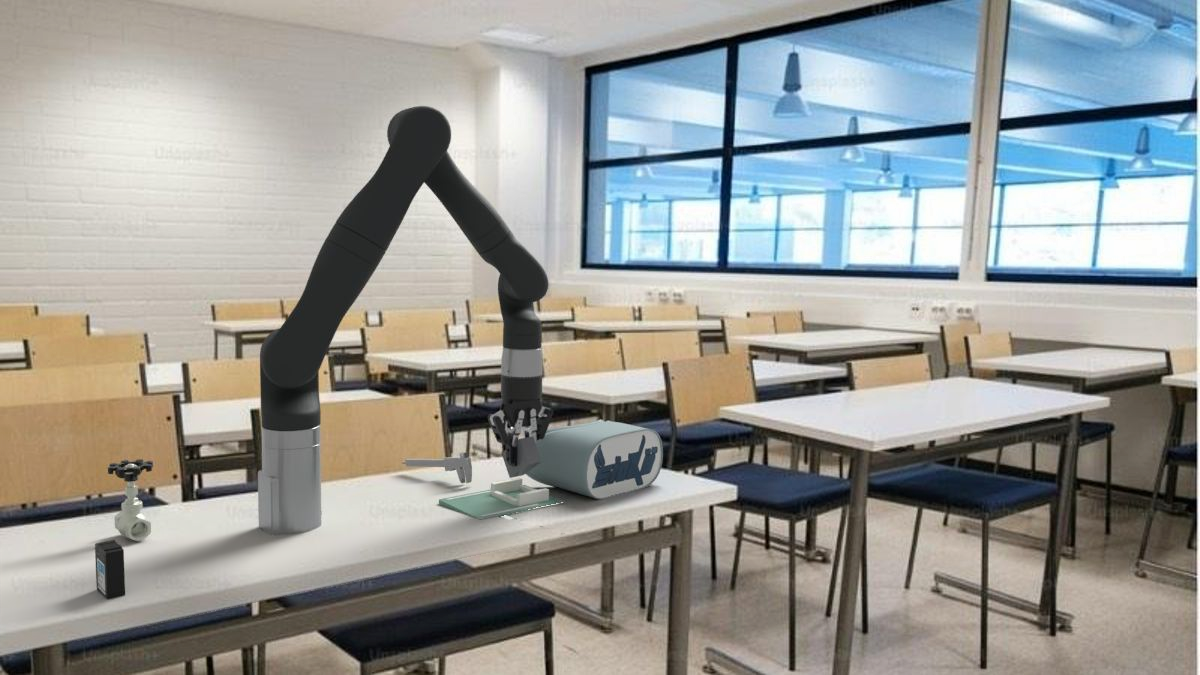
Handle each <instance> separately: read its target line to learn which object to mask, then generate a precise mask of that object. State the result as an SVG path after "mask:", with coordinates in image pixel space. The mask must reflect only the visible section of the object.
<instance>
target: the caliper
mask: <svg viewBox="0 0 1200 675" xmlns="http://www.w3.org/2000/svg"><path fill="white" fill-rule="evenodd" d="M401 464H402V465H405V466H406V467H407V468H408V467H411V468H412V467H413V468H415V467H416V468H417V467H419V468H420V467H423V468H426V467H428V468H430V467H431V468H444V471H445V472H452V471H453V472H454V471H456V473H457V474H456V475H457V476H458V480H459V482H460V484H465V483H466V484H469V483H471V482H472V481H473V479H472V478H473V466H472V459H471V457H469V452H468V451H466V452H464V451H462V452H459V456H456V457H455V456H448V457H447V456H446V457H444V458H443V459H441V458H439V459H438V458H437V459H436V458H407V459H405V460H404V461H402V462H401Z"/></svg>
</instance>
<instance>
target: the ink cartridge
mask: <svg viewBox="0 0 1200 675" xmlns="http://www.w3.org/2000/svg"><path fill="white" fill-rule="evenodd" d="M94 546H95V547H94V554H95V555H94V556H95V573H96V574H95V578H96V581H95V582H96V591H97V592H98V593H100V594H101V595H102V596H103V598H105V599H106V600H110V599H114V598H119V597H124V596H126V582H125V579H126V577H125V553H124V551H125V550H124V548H123V547H122V545H121V544H119V543H118V542H117V541H116V540H115V539H112V540H111V539H110V540H107V541H101V542H96V543H95V544H94Z"/></svg>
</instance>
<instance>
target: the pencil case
mask: <svg viewBox="0 0 1200 675" xmlns="http://www.w3.org/2000/svg"><path fill="white" fill-rule="evenodd" d="M536 446H537V449H538V452H539V455H540V458H541V461H542V462H541V463H539V464H538V465H537V466H535V467H534V468H532V469H531V470H530V471H528V472H527V473H526V474H525V475H526V476H527V477H528V478H530V479H532V480H534V482H538V483H539V484H543V485H546V486H548V487H549V486H550V487H553V488H557V487H559V488H558V489H561V490H566V491H569V492H573V493H576V494H579V495H583V496H586V497H589V498H592V499H597V500H604V499H605V498H604V497H606V498H609V497H612V496H611V495H613V496H616V495H615V494H617V495H619V494H618V493H621V494H623V493H622V492H625V493H627V492H626V491H628V492H630V491H629V490H632V491H635V490H634V489H636V490H639V489H638V488H643V489H645V487H646V488H648V487H649V486H651V485H652V484H653V483H654V482H655V481H656V479H657V478H658V477H659V474H660V472H661V469H662V465H663V460H664V459H663V457H664V449H663V448H664V446H663V442H662V438H661V436H660V434H659V433H658V432H657V431H655V430H654V429H652V428H651V429H650V428H647V427H646V428H645V427H642V426H638V425H633V424H629V423H624V422H618V421H611V420H606V421H605V420H603V419H601V418H600V419H599V420H595V421H593V422H587V423H581V424H573V425H565V426H560V427H559V426H558V427H553V428H548V429H547V431H546V434H545V437H544V438H543V439H539V440H538V441H537V442H536ZM608 496H609V497H608ZM603 498H604V499H603Z"/></svg>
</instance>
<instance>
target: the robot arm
mask: <svg viewBox="0 0 1200 675" xmlns="http://www.w3.org/2000/svg"><path fill="white" fill-rule="evenodd" d="M386 135H387V136H386V138H387V142H388V145H389V147H388V148H387V151H386V153H385V155H384V157H383V159H382V161H381V163H380V164H379V166H378V168H377V170H376V171H375V173H374V174H373V175H372V177H370V179H369V180H368V181H367V183H366V184H365V185H364V186H363V187H361V189H360V190H359V191H358V192H357V193H356V194H355V195H354V197H353V198H352V199H351V201H350V202H349V203H348V204H347V205H346V207H344V209H343V211H342V212H341V214H339V216H338V218H337V219H336V221H335V223H334V225H333V226H332V228H331V229H330V232H328V235H327V236H326V238H325V239H324V242H323V243H322V245H321V247H320V249H319V252H318V254H317V255H316V258H315V260H314V262H313V266H312V268H311V271H310V273H309V276H308V279H307V282H306V285H305V287H304V289H303V291H302V294H301V296H300V297H299V299H298V302H297V303H296V305H295V307H294V308H292V310H291V312H290V313H289V315H288V317H287V318H286V319H285V321H284V322H283V323H282V325H281V327H279V328H277V329H275V330H273V331H272V332H270V333H269V334H268V335H267V336H266V337H265V339H264V340H263V342H262V344H261V347H260V351H259V376H260V377H259V378H260V379H259V382H260V384H259V385H260V418H261V466H262V467H261V469H260V470H258V472H257V495H258V496H257V500H258V503H257V504H258V507H257V508H258V527H259V528H260V529H261V530H263V531H265V533H266V534H268V533H269V534H268V535H270V536H277V534H278V535H293V534H294V535H295V534H301V533H306V532H310V531H313V530H316V529H318V528H320V527H321V526H322V515H323V514H322V512H323V511H322V459H321V458H322V454H321V453H322V450H321V449H322V447H321V446H322V442H321V439H322V438H321V423H322V422H321V421H322V420H321V415H322V414H321V413H322V412H321V411H322V410H321V400H320V385H319V384H320V381H319V380H320V379H319V378H320V376H319V372H320V369H321V366H322V364H323V362H324V360H325V357H326V355H327V352H328V350H329V347H330V346H331V343H332V341H333V339H334V337H335V336H336V335H335V334H336V332H337V330H338V329H339V326H340V324H341V323H342V321H343V319H344V318H345V315H346V314H347V313H348V311H349V310H350V309H351V307H352V306H353V304H354V303H355V302H356V300H357V299H358V297H359V296H360V294H361V293H362V292H363V290H364V288H365V287H366V285H367V284H368V282H369V281H370V280H371V277H372V276H373V274H374V272H375V271H376V270H377V268H378V266H379V265H380V263H381V261H382V259H383V258H384V256H385V254H386V252H387V251H388V249H389V246H390V245H391V243H392V242H393V239H394V238H395V236H396V233H397V232H398V230H399V228H400V227H401V224H402V222H403V220H404V218H405V217H406V214H407V213H408V211H409V208H410V206H411V204H412V202H413V200H414V198H415V197H416V195H417V193H418V192H419V190H420V189H421V187H422V186H423V185H424V184H425V185H426V186H427V187H428V189H430V191H431V192H432V193H433V195H435V196H436V198H437V199H438V200H439V202H440V203H441V204H442V206H443V208H444V209H446V212H448V214H449V215H450V216H451V218H452V219H453V220H454V222H455V223H456V224H457V226H458V227H459V229H460V230H461V232H462V234H464V236H465V238H467V240H468V241H469V243H470V244H471V245H472V247H473V248H474V250H475V252H477V254H478V255H479V256H480V257H481V259H482V260H483V261H484V262H485V263H487V264H489V265H491V266H492V267H494V268H495V269H496V270H497V272H498V273H499V275H498V282H497V294H498V295H497V296H498V301H499V307H500V313H501V318H502V322H503V324H502V325H503V327H502V328H503V329H502V353H501V363H500V364H501V365H500V367H501V368H500V395H501V399H502V400H501V405H500V408H499V411H497V412H495V413H494V414H493V413H489V414H488V415H487V420H488V423H489V425H490V427H491V430H492V432H493V435H494V437H495V441H496V442H497V443H500V444H503V445H505V450H506V461H507V463H508V464H509V465H510V466H513V467H515V466H517V447H516V446H517V444H518V440H519V439H520V438H519V436H520V435H521V433H522V435H523V438H527V437H533V438H534V440H535V443H536V442H537V441H538V440H539V439H543V438H544V437H545V434H546V431H547V430H548V429H549V426H550V423H551V420H552V418H553V415H554V410H553V409H552V408H549V407H545V406H543V404H542V401H541V397H542V396H543V364H544V363H543V362H544V361H543V353H542V352H543V351H542V337H543V334H542V333H543V328H542V321H541V319H540V318H539V317H538V316H537V314H536V312H535V306H534V303H536V302H539V301H540V300H543V298H544V297H545V296H546V295H547V292H548V290H549V278H548V274H547V273H546V270H545V269H544V267H543V266H542V264H541V263H540V262H539V261H538V260H537V258H535V257H534V255H532V253H531V252H530V251H529V250H528V249H527V247H525V246H524V245H523V244H522V243H521V242H520V241H519V240H518V239H517V238H516V237H515V235H514V233H513V232H512V231H511V229H510V227H509V226H508V225H507V223H506V222H505V220H504V218H503V217H502V216H501V214H499V212H498V210H496V208H495V207H494V206H493V204H492V203H491V202H490V201H489V200H488V199H487V198H486V196H484V194H482V193H481V192H480V191H479V190H478V189H477V188H476V187H475V185H473V184H472V183H471V181H470V180H469V179H468V178H467V177H466V176H465V174H464V173H463V172H462V171H461V170H460V168H459V167H458V166H457V164H456V162H454V160H453V158H452V157H451V155H450V153H449V151H448V150H449V148H450V144H451V142H452V141H451V140H452V128H451V124H450V122H449V119H448V118H447V116H446V115H445V114H444V113H443V112H442V111H441V110H440V109H438V108H434V107H433V106H427V105H419V106H413V107H408V108H405V109H402V110H400V111H398V112H397V113H395V114H394V115H393V116H392V117H391V119H390V120H389V123H388V125H387V132H386ZM504 423H505V424H504Z"/></svg>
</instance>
